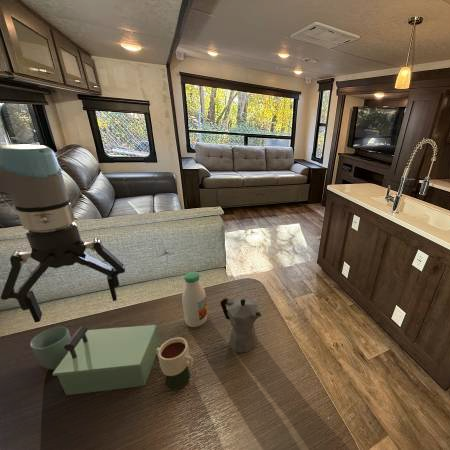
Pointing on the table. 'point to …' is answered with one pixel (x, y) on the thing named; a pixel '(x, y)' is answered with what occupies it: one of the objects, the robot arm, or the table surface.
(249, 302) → the coffeepot
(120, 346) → the lid
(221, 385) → the table surface
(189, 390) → the table surface
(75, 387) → the chest
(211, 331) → the table surface
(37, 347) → the cup
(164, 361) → the character mug
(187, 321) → the milk bottle
